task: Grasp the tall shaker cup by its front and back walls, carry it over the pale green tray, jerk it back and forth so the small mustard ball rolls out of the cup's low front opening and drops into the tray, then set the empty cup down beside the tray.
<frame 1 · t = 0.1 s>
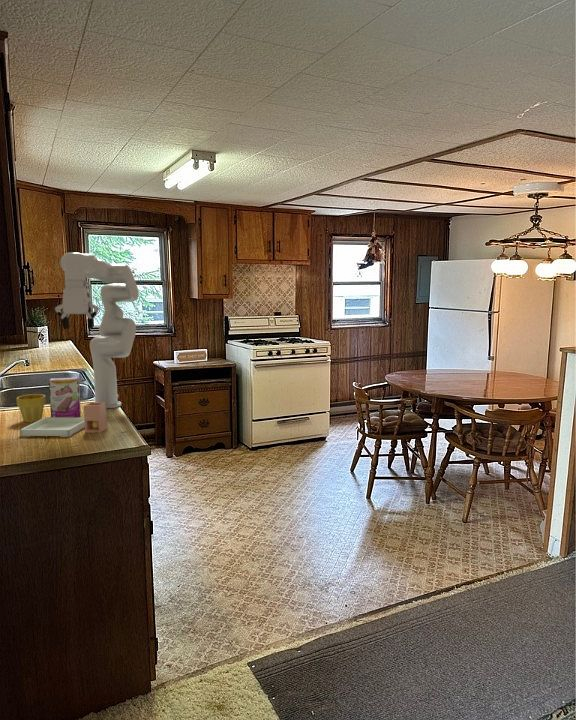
hand: (78, 328, 205), 37 cm above the counter, tool pointing down, fingers open, 9 cm apart
candy bar box: (66, 418, 212), on the counter
ball: (96, 424, 193), point 2 cm above the counter, touching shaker
plant pot: (32, 420, 209), on the counter
tray: (57, 429, 194), on the counter
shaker: (96, 430, 193), on the counter, touching ball
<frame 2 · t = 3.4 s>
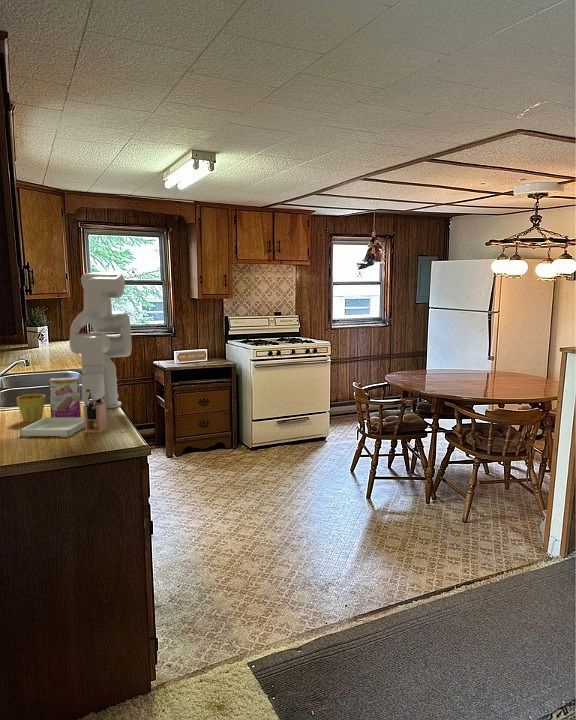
hand: (95, 416, 193), 5 cm above the counter, tool pointing down, fingers closed on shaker, 6 cm apart
ball: (96, 423, 193), point 2 cm above the counter, tilted 15°, touching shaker
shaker: (96, 430, 193), on the counter, touching ball, gripper
everything else where it was.
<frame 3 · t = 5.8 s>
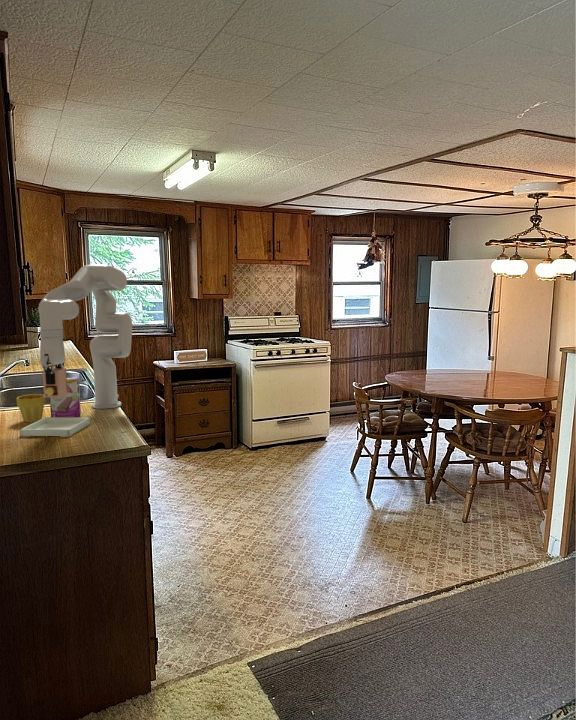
hand: (55, 382, 192), 18 cm above the counter, tool pointing down, fingers closed on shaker, 6 cm apart
ball: (49, 391, 190), point 15 cm above the counter, tilted 87°, touching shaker
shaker: (56, 395, 193), point 13 cm above the counter, touching ball, gripper
everything else where it was.
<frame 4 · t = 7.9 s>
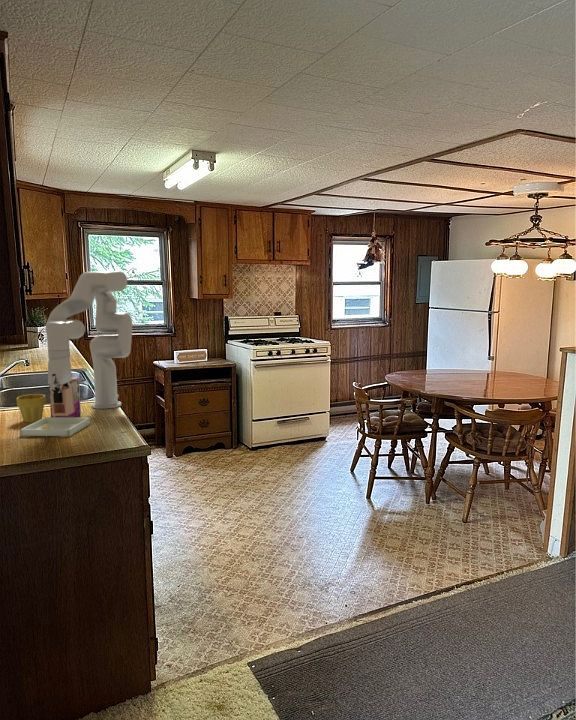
hand: (62, 400, 198), 10 cm above the counter, tool pointing down, fingers closed on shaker, 6 cm apart
ball: (45, 429, 187), point 2 cm above the counter, tilted 113°, touching tray
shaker: (63, 413, 199), point 5 cm above the counter, touching gripper
everything else where it was.
when the fingers open (7 cm above the counter, at t = 10.6 s): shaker drops 1 cm, on the counter.
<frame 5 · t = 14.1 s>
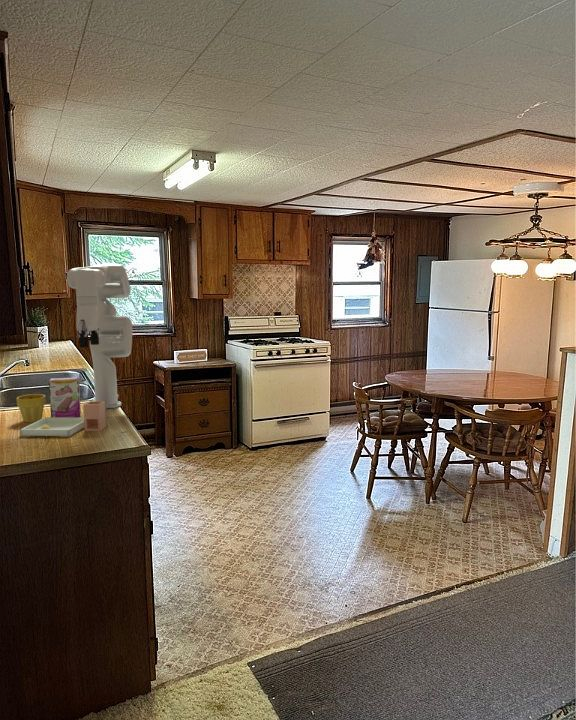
hand: (89, 345, 201), 30 cm above the counter, tool pointing down, fingers open, 9 cm apart
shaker: (95, 428, 195), on the counter
everything else where it was.
at the end: ball inside the target area on the tray (6.8 cm from its centre), point 2.0 cm above the tray's base; the gripper is holding nothing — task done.
